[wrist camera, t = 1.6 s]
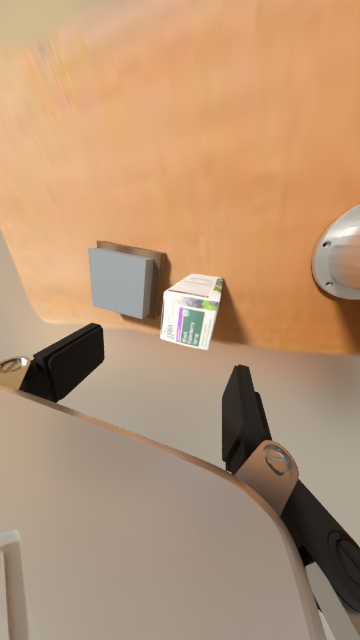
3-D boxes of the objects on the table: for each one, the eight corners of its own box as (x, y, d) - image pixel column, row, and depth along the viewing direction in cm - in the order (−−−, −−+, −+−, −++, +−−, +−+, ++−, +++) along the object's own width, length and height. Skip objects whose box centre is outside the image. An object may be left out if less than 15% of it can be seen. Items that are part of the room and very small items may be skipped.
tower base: (167, 253, 29) (161, 253, 26) (159, 313, 34) (154, 319, 31) (107, 241, 30) (96, 240, 28) (109, 300, 36) (100, 304, 33)
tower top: (153, 258, 26) (145, 259, 24) (149, 313, 31) (142, 319, 28) (101, 248, 28) (88, 248, 25) (103, 301, 32) (93, 306, 30)
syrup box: (217, 308, 29) (211, 353, 17) (186, 302, 31) (158, 341, 18) (223, 277, 27) (223, 301, 14) (190, 272, 28) (161, 291, 15)
